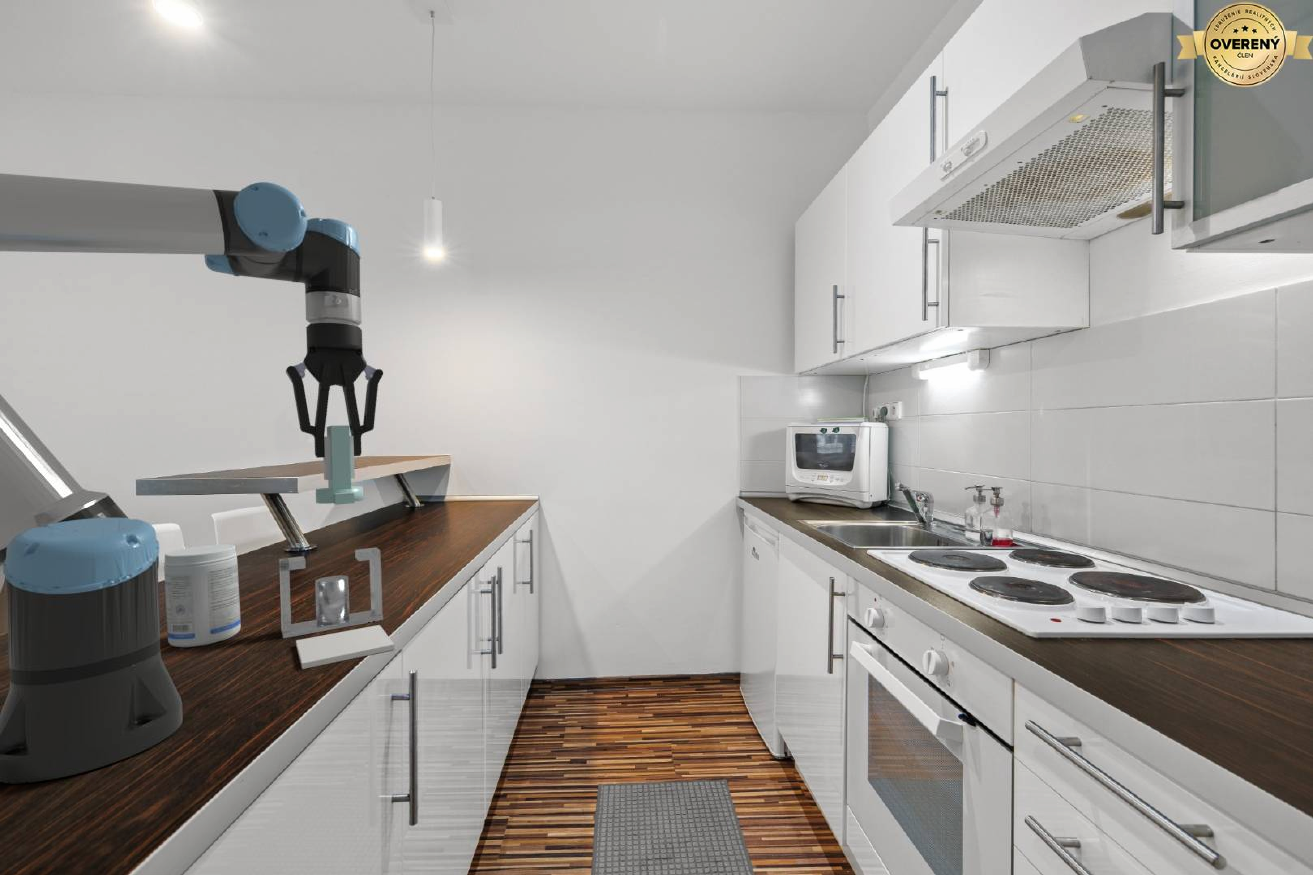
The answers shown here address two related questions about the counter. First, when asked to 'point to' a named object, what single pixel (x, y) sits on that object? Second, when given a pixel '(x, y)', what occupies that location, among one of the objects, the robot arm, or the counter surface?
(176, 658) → the counter surface
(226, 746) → the counter surface
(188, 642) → the supplement tub
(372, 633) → the pad
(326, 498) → the mint inverted t-block
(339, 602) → the grey open frame
